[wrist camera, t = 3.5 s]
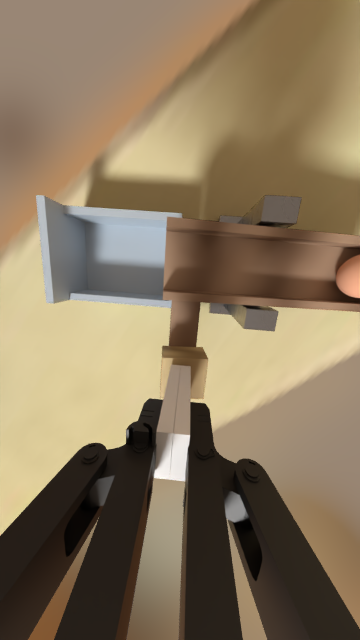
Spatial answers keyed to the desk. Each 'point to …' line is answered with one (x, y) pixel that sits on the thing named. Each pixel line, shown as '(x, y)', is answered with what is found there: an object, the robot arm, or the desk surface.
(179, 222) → the lever
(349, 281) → the ball
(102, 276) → the bin
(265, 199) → the fulcrum
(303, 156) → the desk surface
